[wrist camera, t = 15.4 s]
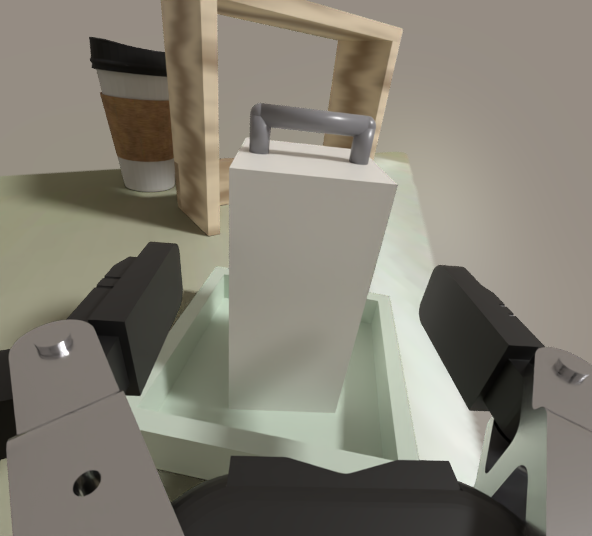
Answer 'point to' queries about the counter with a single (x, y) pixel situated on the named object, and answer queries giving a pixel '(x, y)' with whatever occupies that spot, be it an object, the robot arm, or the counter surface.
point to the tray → (270, 424)
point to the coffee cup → (137, 112)
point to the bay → (204, 84)
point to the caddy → (300, 257)
